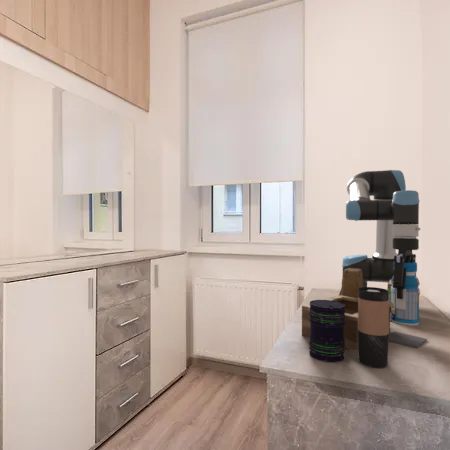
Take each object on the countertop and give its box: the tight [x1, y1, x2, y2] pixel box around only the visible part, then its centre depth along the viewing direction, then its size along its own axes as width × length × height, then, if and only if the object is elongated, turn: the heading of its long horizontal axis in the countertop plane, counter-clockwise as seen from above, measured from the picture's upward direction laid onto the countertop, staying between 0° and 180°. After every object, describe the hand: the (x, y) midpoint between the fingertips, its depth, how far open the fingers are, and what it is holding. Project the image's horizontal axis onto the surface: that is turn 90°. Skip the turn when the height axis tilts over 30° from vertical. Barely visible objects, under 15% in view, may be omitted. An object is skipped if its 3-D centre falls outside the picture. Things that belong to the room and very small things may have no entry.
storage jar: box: [308, 299, 346, 364], centre depth 91 cm, size 10×10×15 cm
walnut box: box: [301, 294, 391, 352], centre depth 110 cm, size 27×19×10 cm
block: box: [340, 268, 363, 298], centre depth 131 cm, size 11×8×20 cm
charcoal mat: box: [388, 330, 428, 349], centre depth 104 cm, size 10×10×1 cm
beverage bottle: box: [390, 261, 421, 327], centre depth 104 cm, size 8×8×20 cm
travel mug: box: [358, 286, 390, 369], centre depth 87 cm, size 8×8×20 cm
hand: (405, 306), depth 104 cm, fingers closed on beverage bottle, 8 cm apart
